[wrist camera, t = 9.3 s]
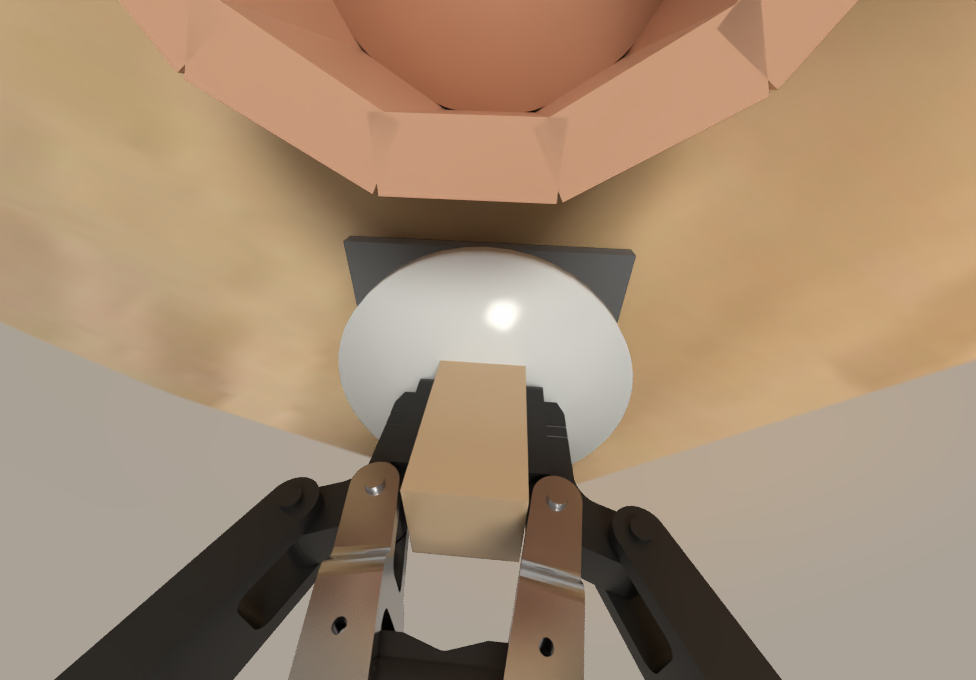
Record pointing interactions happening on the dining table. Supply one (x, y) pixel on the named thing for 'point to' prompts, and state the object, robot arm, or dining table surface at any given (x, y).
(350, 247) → the mat
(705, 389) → the dining table surface
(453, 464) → the lid
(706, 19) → the bowl
